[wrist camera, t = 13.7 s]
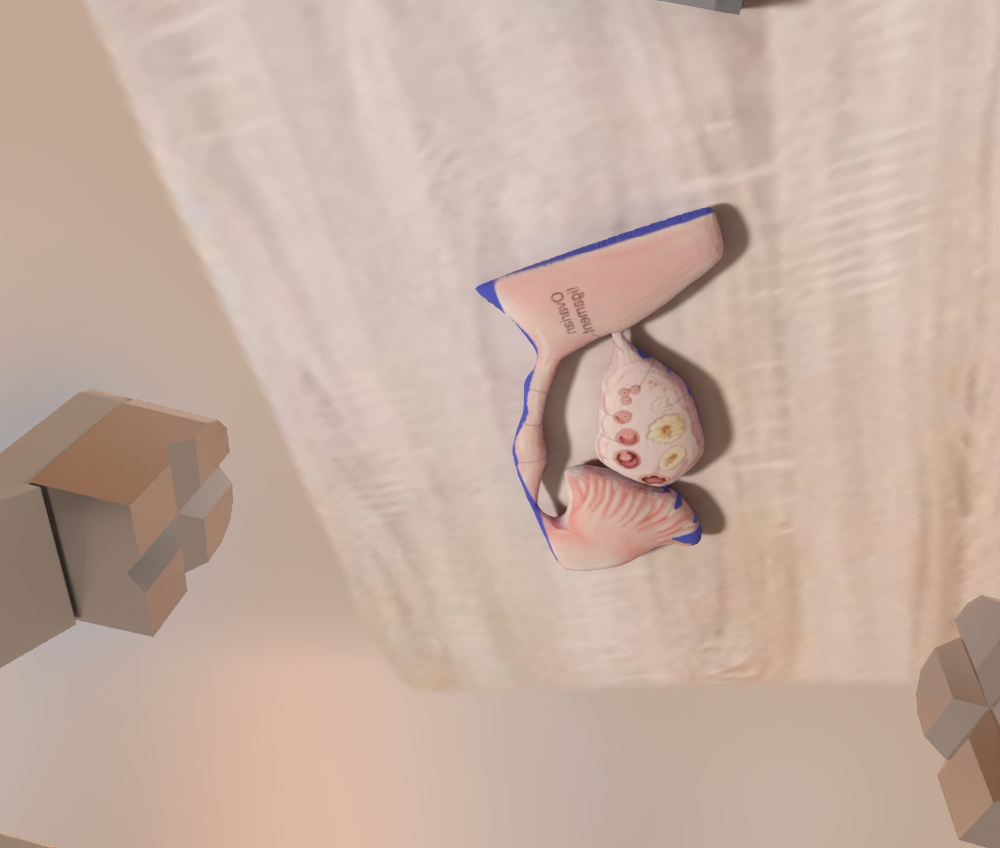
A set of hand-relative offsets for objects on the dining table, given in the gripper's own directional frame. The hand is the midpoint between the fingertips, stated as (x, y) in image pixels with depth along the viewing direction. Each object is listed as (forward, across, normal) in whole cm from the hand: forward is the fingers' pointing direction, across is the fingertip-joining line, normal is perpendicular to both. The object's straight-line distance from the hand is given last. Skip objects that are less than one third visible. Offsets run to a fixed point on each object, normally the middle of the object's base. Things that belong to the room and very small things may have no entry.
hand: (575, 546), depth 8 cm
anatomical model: (+32, -3, +17) cm, 36 cm away
